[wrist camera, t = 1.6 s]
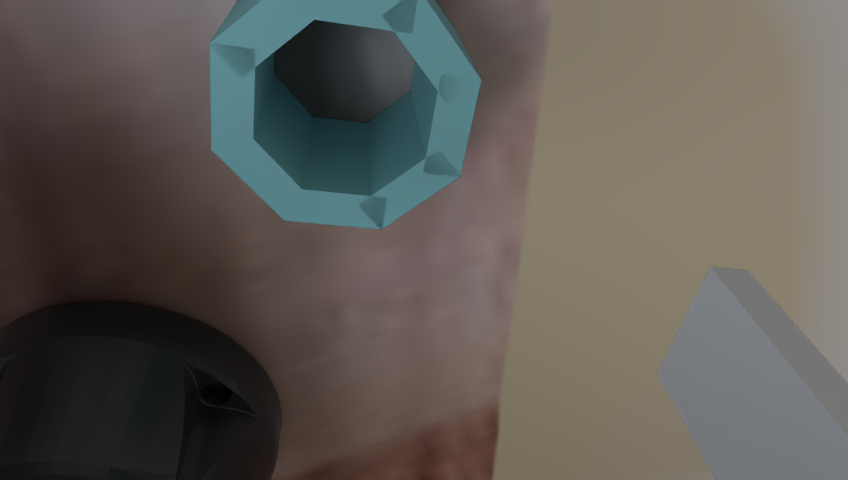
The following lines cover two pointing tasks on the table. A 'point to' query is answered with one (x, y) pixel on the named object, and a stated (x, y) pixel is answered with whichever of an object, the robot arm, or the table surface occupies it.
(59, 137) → the table surface
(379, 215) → the ring
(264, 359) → the table surface
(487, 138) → the table surface
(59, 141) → the table surface
